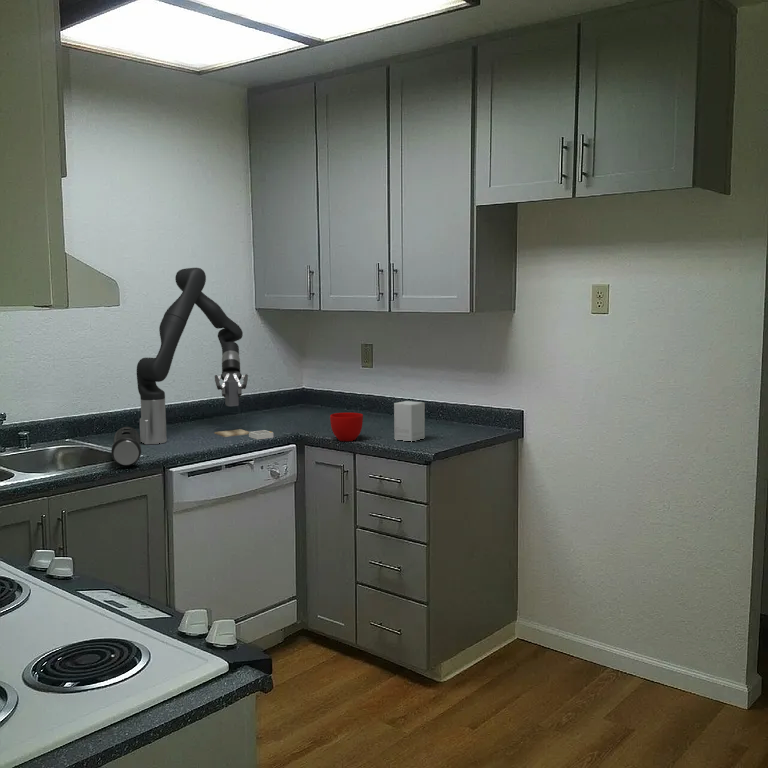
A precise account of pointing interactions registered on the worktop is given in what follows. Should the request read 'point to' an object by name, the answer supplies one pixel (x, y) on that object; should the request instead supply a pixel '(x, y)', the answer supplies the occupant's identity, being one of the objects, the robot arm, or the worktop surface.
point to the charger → (231, 393)
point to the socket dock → (261, 434)
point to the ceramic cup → (346, 425)
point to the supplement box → (409, 421)
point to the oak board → (232, 433)
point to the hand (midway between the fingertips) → (231, 395)
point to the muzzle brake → (126, 446)
